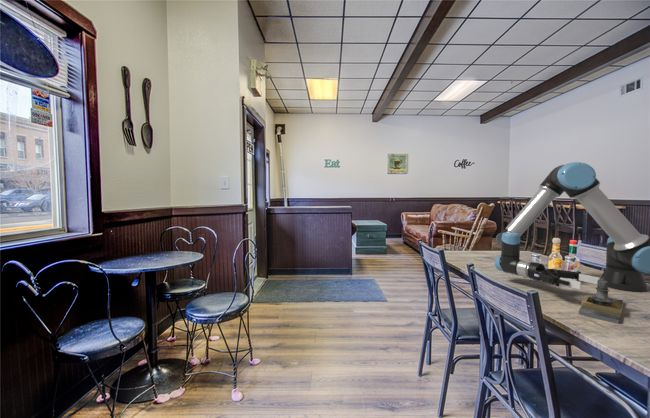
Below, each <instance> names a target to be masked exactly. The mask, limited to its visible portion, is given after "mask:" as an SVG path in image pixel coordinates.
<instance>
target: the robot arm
mask: <svg viewBox="0 0 650 418" xmlns="http://www.w3.org/2000/svg"><path fill="white" fill-rule="evenodd" d="M600 184H601V182H600V180H598V178H597V173H596V171H595V168H594V167H592V166H591V165H589V164H588V163H585V162H579V161H577V162H568V163H565V164H561V165H558V166H556V167H554V168H553V169H552V170H551V171H550V172H549V173H548V175H547V176H546V177H545V178H544V179H543V181H542V182H541V183H540V184H539V185H538V187H539V189H538V190H537V192H535V194H533V196H532V197H531V198H530V199H529V201H528V202H527V203H526V204H525V205H524V206H523V208H522V209H521V210H520V211H519V212H518V213H517V214H516V215H515V217H514V218H513V219H512V220H511V221H510V222H509V224H507V226H506V227H505V228H504V229H503V230H502V232H500V233H498V234H497V235H496V237H495V241H496V244H497V245H498V247H500V250H501V254H500V255H498V256H496V257H495V260H494V267H495V269H497V270H498V271H500V272H503V273H505V274H507V273H508V274H511V275H516V276H519V277H523V279H526V278H528V279H532V280H534V281H543V282H546V283H548V284H550V285H554V286H555V287H560V285H561V286H564V287H568V288H572V289H577V290H582V282H585V283H589V284H594V285H597V281H598V280H600V279H602V277H603V278H604V280H606V281H608V288H612V289H616V290H622V291H629V292H636V293H637V292H640V293H641V292H647V291H648V284H647V282H646V279H645V277H644V274H648V275H650V236H649V235H648V234H643V233H640V232H639V231H638V230H637V229H636V228H635V226H634V225H633V224H632V223H631V222H630V221H629V220H628V219H627V218H626V216H624V214H623V212H621V211H620V210H619V208H618V207H617V206H616V205H615V204H614V203H613V202H612V201H611V200H610V198H609V197H608V196H607V195H606V194H605V193H604V192H603V191H602V190H601V188H600V186H601V185H600ZM563 193H565V194H566V195H567V196H568V198H570V199H576V200H577V201H578V203H579V204H580V205H581V206H582V207H583V208H584V209H585V211H586V212H587V213H588V214H589V215H590V216H591V217H592V218H593V220H594V221H595V222H596V223H597V224H598V225H599V227H600V228H601V229H602V230H603V231H604V233H605V234H606V235H607V236H608V238H607V241H606V254H605V255H606V256H605V257H606V260H605V269H604V271H603V272H602V274H601V276H600V277H598V276H593V275H588V274H583V273H582V271H573V270H571V271H570V270H566V269H565V270H564V269H557V268H547V269H546V267H545V265H544V264H543V263H540V262H534V261H530V260H525V259H520V255H521V253H520V252H521V236H523V234H524V233H525V232H526V231H527V229H528V228H529V227H530V226H531V225H532V224H533V223H534V222H535V221H536V219H538V217H539V216H540V215H542V213H543V212H544V211H545V209H546V208H547V207H548V206H549V205H550V204H551V203H552V202H553V201H554V199H556V198H560V197H561V196H562V194H563ZM643 273H644V274H643Z"/></svg>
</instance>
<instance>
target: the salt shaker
mask: <svg viewBox="0 0 650 418" xmlns="http://www.w3.org/2000/svg"><path fill="white" fill-rule="evenodd" d="M595 289H596V294H595V295H596V296H594V297H591V298H592V301H593V303H594V304H599V305H604V306H611V304H612V302H613V301H612V300H610V299H609V298H610V297H609V292H610V289H609V287H608V281H606V280H604V278H603V277H602V279H600V280H598V281H597V284H596V287H595Z"/></svg>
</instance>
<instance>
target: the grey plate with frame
mask: <svg viewBox="0 0 650 418" xmlns="http://www.w3.org/2000/svg"><path fill="white" fill-rule="evenodd" d="M594 296H596V294H592V293H591V294H590V293H588V294H587V295H584V297H583V299H582V300H581V304H580V308H579V310H578V315H579V314H580V316H583V315H584V317H589V318H592V319H597V320H601V321H606V322H609V323H613V324H618V325H619V323H620V318H621V317H622V313H623V302H624V301H623V299H617V298H612V297H608V298H609V299H610V300H612V301H613V302H612V304H611V306H604V305H599V304H594V303H593V301H592V298H591V297H594Z"/></svg>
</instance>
